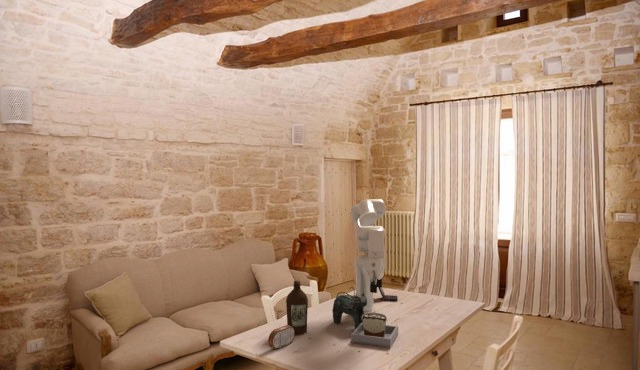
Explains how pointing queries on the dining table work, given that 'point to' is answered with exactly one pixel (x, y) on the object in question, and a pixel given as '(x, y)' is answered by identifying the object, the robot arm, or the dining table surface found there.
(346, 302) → the teal animal figurine
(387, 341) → the tray
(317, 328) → the dining table surface
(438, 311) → the dining table surface
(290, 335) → the tin
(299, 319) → the olive oil
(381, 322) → the food container
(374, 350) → the dining table surface
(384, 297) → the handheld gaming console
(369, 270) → the robot arm
